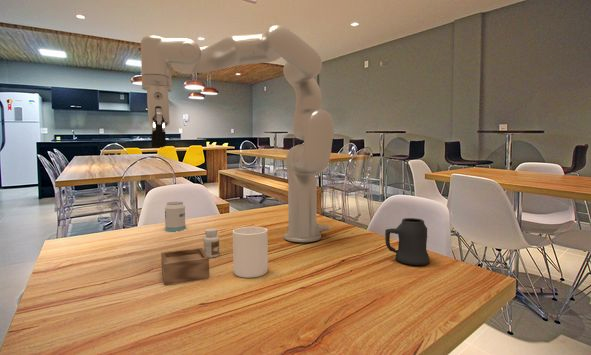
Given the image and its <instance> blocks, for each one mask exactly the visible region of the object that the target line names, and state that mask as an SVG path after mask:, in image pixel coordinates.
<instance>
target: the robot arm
mask: <svg viewBox="0 0 591 355" xmlns="http://www.w3.org/2000/svg"><path fill="white" fill-rule="evenodd" d="M140 56H141V57H140V59H141V61H140V62H141V89H142V90H143V91H146V97H147V98H146V101H147V114H148V115H147V116H148V122H149V126H150V127H151V133H150V134H151V135H150V136H151V142H150V143H151V148H154V149H155V148H156V149H157V148H161V149H162V148H165V147H167V145H166V142H167V140H166V131H165V130H166V129H165V127H166V128H167V127H168V126H169V125H170V105H169V104H170V103H169V101H170V100H169V93H170V92H172V90H173V88H172V69H173V70H175V71H176V72H178V73H179V74H184V75H192V74H199V73H208V72H212V71H218V70H223V69H228V68H231V67H232V68H233V67H239V66H243V65H244V66H245V65H254V64H264V63H272V62H275V61H277V60H279V59H281V58H282V59H283V60H285V63H284V66H283V72H282V73H283V76H284V78H285V80H286V82H288V83H289V85H290V86H291V87H292V88H293V90H294V93H295V99H296V100H295V110H294V117H293V125H292V129H293V130H292V131H293V134H294V136H295V137H296V138H297V139H298V140H300V141H303V143H302V144H297V145H294V146H293V147H291V148H290V149H288V151H287V154H286V157H285V165H286V173H287V179H288V180H287V183H288V184H287V186H288V188H287V189H288V191H287V193H288V194H287V195H288V198H287V200H288V201H287V202H288V203H287V204H288V209H287V210H288V215H287V217H288V225H287V226H288V227H287V228H288V231H287V232H285V233H284V234H283V239H284V240H287V241H289V242H292V243H293V242H294V243H312V242H316V241H317V242H318V241H319V240H321V239H322V233H321V232H325V231H326V232H327V231H328V232H329V231H330V226H329V224H325V225H324V224H323V225H322V224H318V223H317V217H318V216H317V210H318V207H317V205H318V204H317V194H318V193H317V192H318V191H317V190H318V187H317V186H318V185H317V184H318V183H317V178H316V175H318V174H321V173H323V172H324V171H326V170H327V168H328V166H329V164H330V161H331V155H332V148H333V146H332V145H333V139H334V131H335V130H334V129H335V126H334V120H333V118H332V116H331V114H330V113H329V112H328V111H327V110H325V109H322V100H323V99H322V98H323V95H322V90H321V88H320V87H321V86H320V85H319V83H318V82H317V81H316V79H315V77H317V76H318V75H319V74H320V73H321V71H322V68H323V60H322V58H321V56H320V54H319V53H318V51H316V50H315V49H314V48H313V47H312V46H311V45H309V44H308V43H307V42H306V41H304V40H303V39H302V38H301V37H300V36H298V34H296V33H295V32H293V31H292V30H290V29H289V28H287V27H285V26H283V25H280V24H274V25H271V26H270V27H269V28H268V29H266V31H265V32H263V33H250V34H235V35H229V36H227V37H225V38H223V39H221V40H219V41H217V42H215V43H212V44H209V45H206V46H202V47H201V46H200V45H199V44H198V43H197V42H196V41H195V40H193V39H191V38H188V37H187V38H186V37H163V36H160V35H152V34H151V35H146V36H143V37H142V39H141V40H140Z"/></svg>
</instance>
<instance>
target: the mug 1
mask: <svg viewBox="0 0 591 355" xmlns="http://www.w3.org/2000/svg"><path fill="white" fill-rule="evenodd" d="M268 232H269V231H268V229H267V228H266V227H262V226H243V227H241V226H240V227H238V228H234V229H233V230H232V271H233V273H234V275H235V276H237V277H240V278H242V279H243V278H245V279H250V278H251V279H252V278H258V277H262V276H264V275H265V274H266V273H267V272H268V269H269V268H268V267H269V265H268V264H269V253H268V252H269V251H268V250H269V249H268V248H269V247H268V245H269V244H268V242H269V241H268V238H269V237H268Z"/></svg>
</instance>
